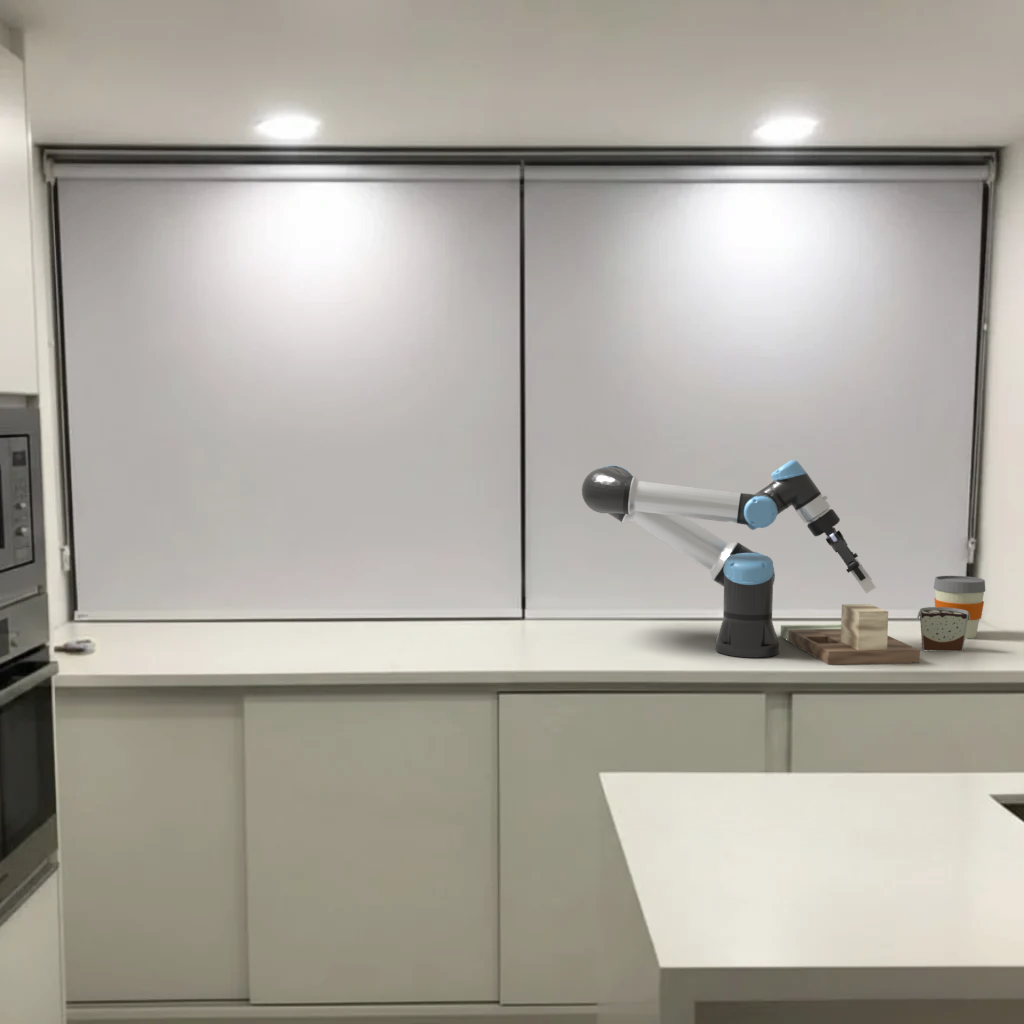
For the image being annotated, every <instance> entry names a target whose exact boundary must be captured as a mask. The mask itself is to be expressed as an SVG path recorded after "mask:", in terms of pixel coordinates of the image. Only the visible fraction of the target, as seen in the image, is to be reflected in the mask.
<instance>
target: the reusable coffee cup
mask: <svg viewBox="0 0 1024 1024" xmlns="http://www.w3.org/2000/svg"><path fill="white" fill-rule="evenodd" d="M933 589H934V590H935V592H934V593H935V598H934V599H933V601H934V607H946V608H956V609H962V610H966V611H968V614H969V615H970V620H969V619H968V620H967V627H966V633H965V638H971V639H974V638H973V637H975V638H976V637H977V633H978V626H979V623H980V620H981V619H982V615H983V610H984V603H985V602H984V601H983V600H984V599H983V598H984V593H985V592H986V581H985V579H983V578H980V577H975V576H963V575H940V576H935V578H934V583H933Z"/></svg>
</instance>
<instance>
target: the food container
mask: <svg viewBox="0 0 1024 1024" xmlns="http://www.w3.org/2000/svg"><path fill="white" fill-rule="evenodd" d="M916 618H917V619H918V620H919V621H920V632H921V633H920V634H921V635H920V636H921V647H922V648H921V650H922V649H923V650H936V651H935V652H949V651H964V645H965V640H966V639H965V633H966V627H967V620H968V619H969V620H970V615H969V614H968V611H966V610H962V609H956V608H946V607H935V606H927V607H922V608H920V609H919V611H918V612H917V617H916ZM923 650H922V651H923Z"/></svg>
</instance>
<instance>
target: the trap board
mask: <svg viewBox="0 0 1024 1024" xmlns="http://www.w3.org/2000/svg"><path fill="white" fill-rule="evenodd" d="M780 636H781V637H780V638H782V637H783V638H782V639H784V638H785V639H787V640H788V641H787V640H786V641H787V642H789V641H790V642H789V643H791V644H792V643H793V644H792V645H794V644H795V645H794V646H796V647H797V646H798V647H797V648H799V647H800V648H799V649H801V648H802V649H801V650H802V651H804V650H805V651H804V652H806V651H807V652H806V653H808V652H809V653H810V655H811V654H812V655H811V656H813V655H814V656H813V657H815V656H816V657H817V658H816V657H815V658H816V659H818V658H819V659H818V660H819V661H821V660H822V662H823V663H825V664H827V665H867V664H869V665H870V664H877V665H878V664H913V663H912V662H920V659H921V655H920V654H921V649H919V648H916V647H914V646H912V645H910V644H907V643H905V642H903V641H900V640H898V639H897V638H894V637H892V636H889V635H888V636H887V650H857V649H855V648H853V647H851V646H849V645H847V644H845V643H843V642H841V623H839V624H838V623H837V624H836V623H834V624H789V625H788V624H781V625H780ZM785 639H784V640H785ZM809 653H808V654H809Z"/></svg>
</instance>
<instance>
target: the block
mask: <svg viewBox="0 0 1024 1024" xmlns="http://www.w3.org/2000/svg"><path fill="white" fill-rule="evenodd" d="M840 622H841V623H840V624H841V642H843V643H845V644H847V645H849V646H851V647H853V648H855V649H857V650H887V636H889V635H888V634H889V632H888V631H889V630H888V628H889V611H887V610H886V609H883V608H881V607H878V606H875V605H873V604H870V603H868V604H865V603H861V604H860V603H858V604H855V603H854V604H853V603H852V604H841V619H840Z"/></svg>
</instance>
